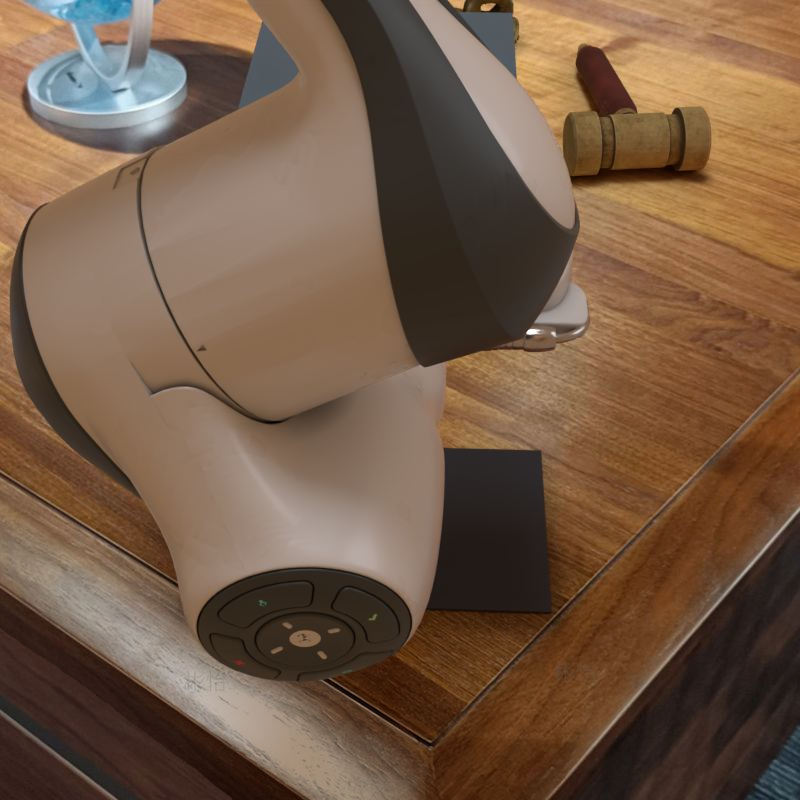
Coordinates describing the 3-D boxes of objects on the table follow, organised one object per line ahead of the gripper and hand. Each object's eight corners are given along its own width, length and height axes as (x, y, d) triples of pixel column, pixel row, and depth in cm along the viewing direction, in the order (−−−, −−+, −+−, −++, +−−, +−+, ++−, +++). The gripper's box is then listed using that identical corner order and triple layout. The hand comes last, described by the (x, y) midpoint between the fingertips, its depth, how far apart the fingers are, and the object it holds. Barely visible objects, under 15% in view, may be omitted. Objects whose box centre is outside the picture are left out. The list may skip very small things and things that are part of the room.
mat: (187, 602, 67) (187, 601, 67) (221, 443, 76) (221, 441, 76) (551, 613, 67) (551, 611, 67) (541, 451, 76) (541, 450, 76)
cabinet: (249, 263, 91) (236, 111, 83) (274, 149, 103) (265, 8, 95) (509, 269, 90) (519, 116, 83) (504, 154, 102) (512, 12, 95)
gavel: (525, 23, 112) (643, 18, 113) (522, 75, 115) (638, 70, 116) (577, 128, 95) (715, 121, 96) (572, 186, 98) (707, 180, 99)
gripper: (600, 284, 53) (577, 118, 64) (84, 273, 54) (146, 110, 64) (586, 407, 57) (566, 232, 68) (105, 396, 58) (161, 224, 68)
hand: (358, 173), depth 66 cm, fingers open, 8 cm apart
